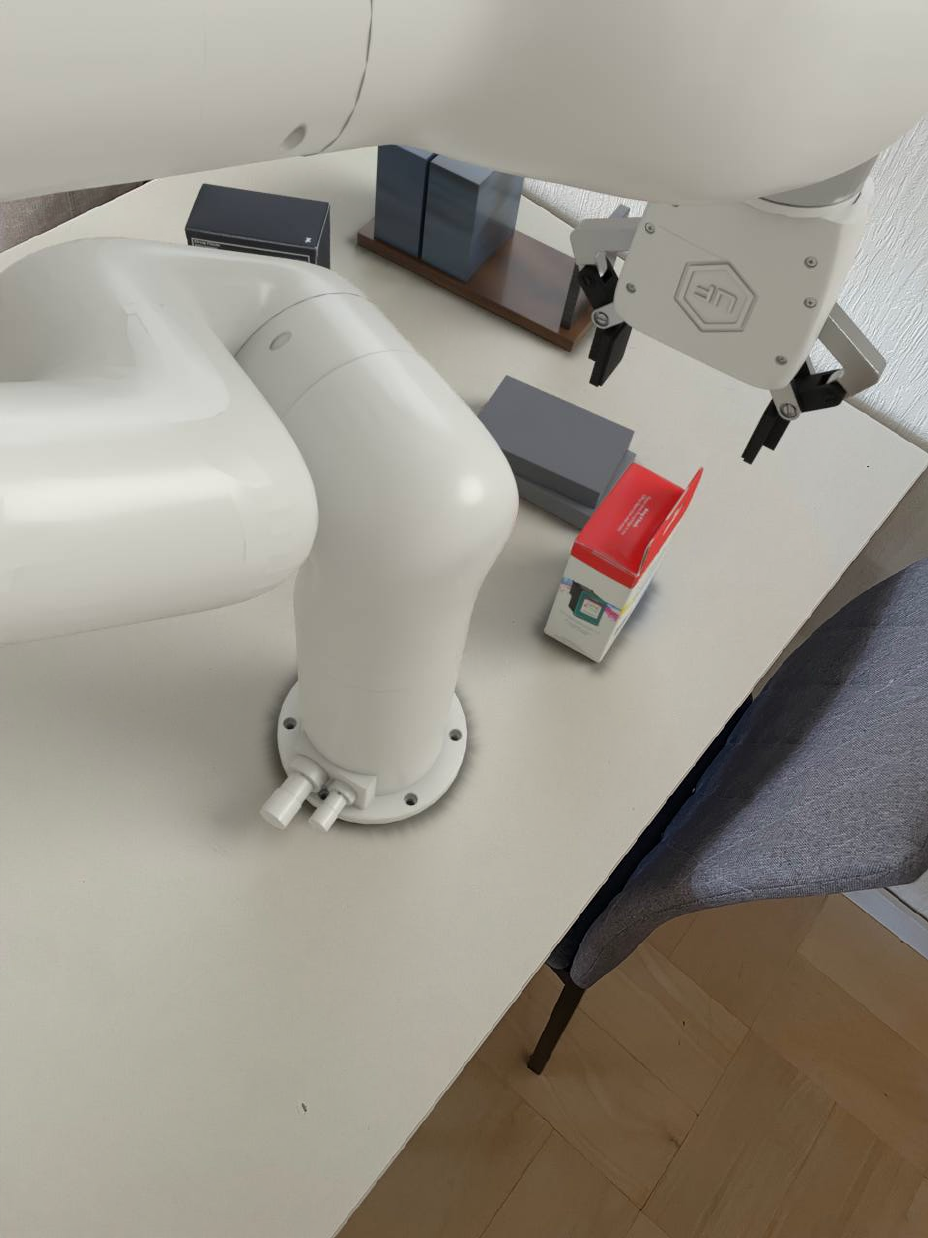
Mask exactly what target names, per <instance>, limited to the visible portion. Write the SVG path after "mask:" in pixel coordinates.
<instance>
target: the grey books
mask: <svg viewBox="0 0 928 1238" xmlns="http://www.w3.org/2000/svg"><path fill="white" fill-rule="evenodd" d="M477 417H478V418H479V420H480V421H481V422H482V423H483V424H484V426H485V427H486V429H487V430H488V431H489V433H490V434H491V435H492V437H493V438H494V439H495V441H496V442H497V444H498V446H499V447H500V449H501V451H502V452H503V454H504V455H505V457H506V459H507V461H508V463H509V465H510V467H511V470H512V472H513V474H514V478H515V481H516V484H517V489H518V496H519V498H522V499H524V500H526V501H527V502H530V503H531V504H533V505H535V506H537V507H539V508H540V509H542V510H544V511H545V512H548V513H549V514H551V515H553V516H555V517H557V518H559V519H560V520H563V522H566V523H568V524H570V525H571V526H573V527H575V528H577V529H579V530H580V531H581V530H582V529H583V528H584V526H585V525H586V523H587V522H588V521H589V519H590V518H591V517H592V515H593V514H594V512H595V511H596V510H597V508H598V507H599V506H600V504H601V503H602V502H603V500H604V499H605V498H606V496H607V495H608V494H609V492H610V491H611V490H612V488H613V487H614V486H615V484H616V483H617V482H618V480H619V479H620V478H621V476H622V475H623V474H624V472H625V471H626V470H627V469H628V467H629V466H630V465H631V464H632V463H633V462H634V463H635V461H636V458H637V453H635V452H633V451H631V450H629V448H630V445H631V443H632V440H633V438H634V435H635V430H634V429H630V428H628V427H626V426H624V425H622V424H620V423H618V422H615V421H613V420H610V419H608V418H606V417H604V416H601V415H599V414H597V413H595V412H592V411H591V410H587V409H585V408H583V407H580V406H579V405H576V404H574V403H572V402H570V401H567V400H565V399H562V398H560V397H558V396H556V395H554V394H551V393H549V392H547V391H545V390H542V389H539V388H538V387H535V386H533V385H531V384H529V383H526V382H525V381H521V380H519V379H517V378H515V377H512V376H511V375H508V374H506V375H505V376H504V377H503V379H502V381H501V382H500V383H499V385H498V387H497V388H496V389H495V390H494V392H493V394H492V395H491V397H490V398H489V400H487V403H486V404H485V405H484V407H483V408H482V410H480V412H479V414H478V416H477Z"/></svg>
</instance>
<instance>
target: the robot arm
mask: <svg viewBox="0 0 928 1238" xmlns="http://www.w3.org/2000/svg"><path fill="white" fill-rule="evenodd" d="M927 114H928V0H0V203H6V202H12V201H18V200H25V199H31V198H36V197H37V198H38V197H43V196H48V195H53V194H54V195H55V194H59V193H67V192H75V191H80V190H88V189H95V188H102V187H109V186H116V185H124V184H130V183H138V182H146V181H152V180H159V179H164V178H169V177H175V176H176V177H177V176H183V175H189V174H194V173H202V172H207V171H214V170H219V169H227V168H234V167H238V166H239V167H240V166H246V165H252V164H257V163H258V164H259V163H264V162H270V161H276V160H277V161H278V160H282V159H289V158H296V157H312V156H317V155H325V154H331V153H336V152H343V151H349V150H355V149H363V148H371V147H378V146H381V145H405V146H411V147H415V148H419V149H422V150H426V151H429V152H432V153H436V154H439V155H442V156H445V157H448V158H451V159H455V160H458V161H461V162H465V163H468V164H471V165H475V166H479V167H483V168H486V169H490V170H494V171H498V172H502V173H507V174H511V175H516V176H520V177H524V179H525V178H526V179H531V180H535V181H536V180H537V181H541V182H546V183H552V184H557V185H562V186H566V187H570V188H575V189H578V190H584V191H589V192H593V193H598V194H602V195H606V196H607V195H608V196H612V197H617V198H621V199H627V200H632V201H638V202H639V201H640V202H645V203H646V202H647V203H646V205H645V208H644V210H643V213H642V215H641V216H634V217H633V216H632V217H630V216H628V217H627V218H608V217H600V218H584V219H582V220H581V221H580V223H578V224H577V226H576V227H575V228H574V229H573V230H572V231H571V232H570V235H569V241H570V244H571V245H570V246H571V249H572V253H573V258H575V262H576V265H578V268H579V273H578V276H577V278H578V282H579V284H580V286H581V288H582V289H583V291H584V293H585V295H586V297H587V299H588V300H589V302H590V304H591V306H592V308H593V309H594V311H593V313H592V316H591V318H592V321H593V323H594V324H593V325H595V326H596V327H595V331H594V334H593V337H592V342H591V345H590V349H589V353H588V356H587V358H588V359H589V360H591V361H593V362H594V364H593V368H592V371H591V374H590V376H589V377H590V378H589V384H590V385H592V386H594V387H596V388H598V387H603V385H604V384H605V383H606V381H607V380H608V379H609V378H610V376H611V375H612V374H613V373H614V372H615V370H616V368H617V367H618V366H619V365H620V363H621V361H623V358H624V356H625V353H626V349H627V346H628V343H629V340H630V337H631V334H632V331H633V329H634V330H635V331H638V332H640V333H642V334H643V335H645V336H647V337H649V338H651V339H653V340H655V341H657V342H659V343H661V344H663V345H665V346H667V347H669V348H671V349H673V350H675V351H678V352H680V353H681V354H684V355H686V356H687V357H689V358H692V359H694V360H695V361H698V362H700V363H702V364H704V365H706V366H708V367H710V368H712V369H714V370H717V371H719V372H720V373H722V374H724V375H726V376H728V377H730V378H733V379H735V380H736V381H739V382H741V383H744V384H746V385H748V386H751V387H754V388H757V389H760V390H766V391H769V393H770V395H771V400H770V401H769V403H768V404H767V406H766V408H765V410H764V411H763V413H762V414H761V417H760V418H759V421H758V422H757V424H756V426H755V429H754V430H753V432H752V434H751V436H750V438H749V440H748V442H747V444H746V446H745V448H744V450H743V452H742V454H741V456H740V458H742V461H743V462H744V463H745V464H748V465H750V466H752V465H753V463H754V461H755V460H756V458H757V456H758V454H759V453H760V451H761V450H762V448H763V447H765V448H767V449H769V450H771V451H772V452H773V451H775V449H776V448H777V446H778V445H779V443H780V441H781V439H782V438H783V436H784V434H785V432H786V430H787V428H788V427H789V425H790V423H791V421H794V420H798V418H800V415H801V414H804V413H809V412H814V411H815V412H816V411H819V410H825V409H830V408H831V409H832V408H835V407H838V406H840V405H841V404H842V402H843V401H844V400H847V399H848V398H850V397H851V398H853V397H854V396H856V395H858V394H859V393H861V392H863V391H866V390H867V389H869V388H871V387H873V386H875V385H876V384H877V383H878V382H879V381H880V379H881V377H882V376H883V373H884V371H885V369H886V368H887V360H886V358H885V357H884V356H883V355H882V354H881V352H879V350H878V349H877V347H875V345H874V344H873V343H872V342H871V341H870V340H869V339H868V338H867V336H866V335H865V334H864V333H863V331H862V330H861V329H860V328H859V327H858V326H857V324H856V323H855V322H854V321H853V320H852V318H851V317H850V316H849V315H848V314H847V313H846V312H845V311H844V309H843V308H842V307H841V306H840V305H839V303H838V302H837V301H838V300H839V297H840V295H841V292H842V290H843V287H844V285H845V283H846V280H847V278H848V276H849V273H850V271H851V268H852V266H853V264H854V261H855V259H856V256H857V253H858V250H859V247H860V245H861V242H862V239H863V236H864V234H865V230H866V227H867V223H868V220H869V216H870V212H871V209H872V204H873V201H874V197H875V184H874V180H873V177H872V176H871V175H870V173H871V171H872V170H873V167H874V165H875V164H876V161H877V159H878V157H879V156H880V154H881V153H882V152H884V151H886V150H887V149H888V148H890V147H891V146H892V145H893V144H895V143H896V142H897V141H899V140H900V139H901V138H903V137H904V136H905V135H906V134H907V133H908V132H910V131H911V130H912V129H913V128H914V127H915V126H916V125H917V124H918V123H919V122H921V120H922V119H924V117H926V115H927ZM606 251H618V252H627V254H626V257H625V259H624V262H623V265H622V267H621V271H620V274H619V276H618V274H617V273H616V270H615V269H614V268H613V267H612V265H611V263H610V261H609V260H608V258H607V257H606V256H605V254H606ZM818 340H819V341H820V342H821V343H822V345H823V346H824V347H825V348H826V349H827V350H828V352H829V353H830V354H831V355H832V356H833V357H834V359H835V360H836V361H837V362H838V363H839V364H840V366H841V368H835V369H831V370H827V371H822V372H817V373H816V371H815V368H814V366H813V363H812V359H811V356H810V353H811V352H812V350H813V348H814V346H815V345H816V342H817V341H818ZM519 506H520V496H518V489H517V484H516V481H515V478H514V474H513V472H512V470H511V467H510V465H509V463H508V461H507V459H506V457H505V455H504V454H503V452H502V451H501V449H500V447H499V446H498V444H497V442H496V441H495V439H494V438H493V437H492V435H491V434H490V433H489V431H488V430H487V429H486V427H485V426H484V424H483V423H482V422H481V421H480V420H479V418H478V416H477V415H476V413H475V412H474V411H473V410H472V409H471V407H470V406H468V404H467V403H466V402H465V401H464V400H463V398H461V396H460V395H459V394H458V393H457V392H456V391H455V389H454V388H453V387H452V386H451V385H450V384H449V382H447V381H446V379H445V378H444V377H443V376H442V375H441V373H439V372H438V370H436V368H435V367H434V366H433V365H432V364H431V363H430V362H429V361H428V360H427V359H426V358H425V357H424V356H422V355H421V354H420V353H419V352H418V350H417V349H416V348H415V347H414V346H413V345H412V344H411V343H410V341H408V339H407V338H406V337H405V336H404V335H403V333H401V331H399V329H398V328H397V326H395V325H394V323H392V321H391V320H390V319H389V318H388V317H387V315H385V313H384V312H383V311H382V310H381V309H380V308H379V307H378V305H377V304H375V302H374V301H373V300H372V299H371V298H370V297H369V296H367V294H366V293H365V292H363V290H361V289H360V288H359V287H358V286H357V285H356V284H355V283H353V282H352V281H351V280H350V279H348V278H347V277H345V276H344V275H342V274H340V273H338V272H336V271H334V270H332V269H331V268H330V269H327V268H324V267H322V266H318V265H315V264H311V263H307V262H303V261H298V260H292V259H286V258H279V257H272V256H264V255H257V254H250V253H242V252H235V251H227V250H220V249H212V248H205V247H197V246H190V245H188V244H181V243H174V242H166V241H160V240H159V241H158V240H152V239H144V238H143V239H141V238H133V237H123V236H95V237H86V238H85V237H84V238H77V239H71V240H68V241H65V242H61V243H57V244H54V245H50V246H47V247H44V248H42V249H39V250H37V251H35V252H32V253H30V254H27V255H26V256H23V257H22V258H21V259H18V260H16V261H15V262H13V263H11V264H10V265H9V266H8V267H6V268H4V269H3V270H2V271H1V272H0V647H4V646H11V645H18V644H26V643H32V642H39V641H44V640H50V639H56V638H61V637H68V636H72V635H79V634H85V633H90V632H96V631H101V630H108V629H113V628H120V627H125V626H131V625H136V624H141V623H147V622H153V621H159V620H164V619H170V618H176V617H181V616H182V617H183V616H187V615H193V614H194V615H195V614H198V613H203V612H209V611H212V610H219V609H222V608H226V607H229V606H233V605H237V604H240V603H244V602H247V601H250V600H252V599H255V598H257V597H259V596H261V595H264V594H265V593H268V592H271V591H272V590H275V589H276V588H278V587H279V586H281V585H282V584H283V583H284V582H286V581H287V580H288V579H290V577H292V576H293V574H294V573H296V572H297V573H296V576H295V581H294V586H293V621H294V630H295V631H294V632H295V647H296V666H297V681H296V682H295V683H294V684H293V686H292V687H291V688H290V690H289V692H288V694H287V695H286V697H285V699H284V701H283V703H282V706H281V710H280V713H279V716H278V720H277V721H278V722H277V733H276V735H277V749H278V753H279V757H280V762H281V766H282V767H283V769H284V772H285V774H286V776H287V778H286V779H285V780H284V781H283V783H282V784H281V786H279V787H277V788H275V790H274V791H273V792H272V794H271V795H270V796H269V797H268V799H267V800H266V801H265V803H264V804H263V805H262V806H261V808H260V809H259V815H261V817H262V818H263V819H264V820H265V821H266V822H267V823H268V824H270V825H271V826H272V827H274V828H276V829H278V830H281V831H284V830H285V829H286V828H287V826H288V825H289V824H290V822H291V821H292V820H293V818H294V817H295V816H296V815H297V814H298V812H299V810H300V809H302V806H303V805H302V804H303V803H304V802H305V800H306V801H307V802H308V803H309V804H311V805H312V806H313V807H315V808H316V809H315V810H314V812H313V813H312V814H311V816H310V817H309V819H308V820H307V822H308V824H309V825H310V826H311V827H312V828H313V829H315V830H316V831H318V832H319V833H322V834H326V833H327V832H328V831H329V830H330V828H331V827H332V826H333V824H334V823H335V822H336V821H337V819H339V820H342V821H345V822H348V823H355V824H360V825H385V824H390V823H395V822H399V821H403V820H406V819H409V818H411V817H413V816H415V815H418V814H420V813H423V812H424V811H425V810H426V809H428V808H429V807H431V806H432V805H434V804H435V803H436V802H437V801H438V800H439V799H440V798H441V797H442V796H443V795H444V794H445V793H447V791H448V790H449V788H450V787H451V786H452V784H453V783H454V781H455V780H456V778H457V776H458V775H459V771H460V769H461V766H462V765H463V761H464V757H465V754H466V749H467V741H468V740H467V739H468V729H467V720H466V715H465V712H464V709H463V707H462V704H461V701H460V700H459V697H458V695H457V693H456V692H455V691H456V686H457V682H458V677H459V674H460V673H459V672H460V669H461V665H462V661H463V656H464V651H465V648H466V643H467V637H468V633H469V629H470V623H471V619H472V615H473V610H474V607H475V603H476V601H477V598H478V594H479V592H480V589H481V587H482V585H483V583H484V581H485V579H486V578H487V575H488V573H489V572H490V570H491V569H492V567H493V565H494V564H495V562H496V561H497V559H498V557H499V556H500V554H501V553H502V551H503V549H504V548H505V545H506V544H507V542H508V540H509V538H510V537H511V534H512V533H513V530H514V527H515V524H516V521H517V518H518V514H519ZM290 727H291V729H288V728H290ZM453 739H456V740H453ZM323 797H325V799H323ZM408 802H412V803H413V805H410V804H408Z"/></svg>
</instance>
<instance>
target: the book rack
mask: <svg viewBox="0 0 928 1238" xmlns="http://www.w3.org/2000/svg"><path fill="white" fill-rule="evenodd" d="M376 154H377V156H376V178H375V200H374V201H375V202H374V205H375V206H374V217H373V218H372V219H371V220H370V221H369V222H368V223H367V224H366V225H364V226H363V227H362V228H361V229H360V230H359V231H358V232H357V234H356V235H357V236H356V237H357V238H356V243H357V244H358V245H360V246H362V247H363V248H366V249H368V250H370V251H372V252H374V253H375V254H377V255H379V256H382V257H384V258H385V259H387V260H388V261H389V260H390V261H391V262H393V263H396V264H397V265H398V266H401V267H404V268H405V269H407V270H409V271H411V272H413V273H415V274H417V275H419V276H421V277H423V278H424V279H427V280H429V281H431V282H432V283H434V284H437V285H438V286H440V287H443V288H444V289H447V290H448V291H450V292H452V293H455V294H456V295H459V296H460V297H462V298H464V299H466V300H468V301H470V302H472V303H474V304H475V305H478V306H480V307H481V308H484V309H486V310H488V311H490V312H492V313H493V314H496V315H498V316H500V317H502V318H503V319H506V320H507V321H509V322H512V323H514V324H516V325H518V326H519V327H521V328H524V329H525V330H527V331H529V332H531V333H533V334H535V335H537V336H539V337H541V338H543V339H545V340H547V341H549V342H551V343H553V344H555V345H557V346H559V347H561V348H563V349H565V350H567V351H569V352H572V351H574V349H575V348H576V346H577V345H578V344H579V343H580V342H581V340H582V339H583V338H584V337H585V336H586V335H587V333H588V332H589V331H590V330H591V328H592V327H593V326H594V325H595V324H594V323H593V321H592V318H591V316H592V313H593V311H594V309H593V308H592V306H591V304H590V302H589V300H588V299H587V297H586V295H585V293H584V291H583V289H582V288H581V286H580V284H579V282H578V278H577V276H578V273H579V268H578V265H576V262H575V258H574V256H570V255H568V254H567V253H565V252H562V251H560V250H558V249H556V248H554V247H552V246H550V245H548V244H546V243H544V242H541V241H540V240H538V239H535V238H534V237H532V236H529V234H528V235H527V234H525V233H523V232H521V231H520V230H518V229H516V225H517V219H518V215H519V209H520V205H521V198H522V192H523V187H524V182H525V177H520V176H516V175H511V174H507V173H502V172H498V171H494V170H490V169H486V168H483V167H479V166H475V165H471V164H468V163H465V162H461V161H458V160H455V159H451V158H448V157H445V156H442V155H439V154H436V153H432V152H429V151H426V150H422V149H419V148H415V147H411V146H405V145H381V146H377V153H376ZM630 212H631V208H630V207H629V206H627V205H624V204H622V203H620V204H619V205H618V206H617V207H616V208H615V209H614V211H613V212H612V213H611V214H610V215H609V216H608V217H607V218H627V217H630V216H629V215H630ZM618 254H619V251H606V254H605V256H606V257H607V258H608V260H609V261H610V263H611V265H612V267H613V269H614V267H615V265H616V261H617V258H618Z"/></svg>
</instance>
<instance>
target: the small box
mask: <svg viewBox="0 0 928 1238" xmlns="http://www.w3.org/2000/svg"><path fill="white" fill-rule="evenodd" d="M184 233H185V238H186V241H187V242H186V243H187V245H190V246H197V247H205V248H212V249H220V250H227V251H235V252H242V253H250V254H257V255H264V256H272V257H279V258H286V259H292V260H298V261H303V262H307V263H311V264H315V265H318V266H322V267H324V268H327V269H330V270H331V203H330V202H328V201H322V200H315V199H309V198H302V197H296V196H289V195H284V194H283V195H282V194H276V193H270V192H262V191H256V190H255V191H254V190H249V189H244V188H237V187H231V186H225V185H224V186H223V185H217V184H210V183H202V184H201V185H200V187H199V190H198V193H197V195H196V198H195V200H194V203H193V205H192V208H191V211H190V213H189V215H188V218H187V221H186V222H185V226H184Z"/></svg>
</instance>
